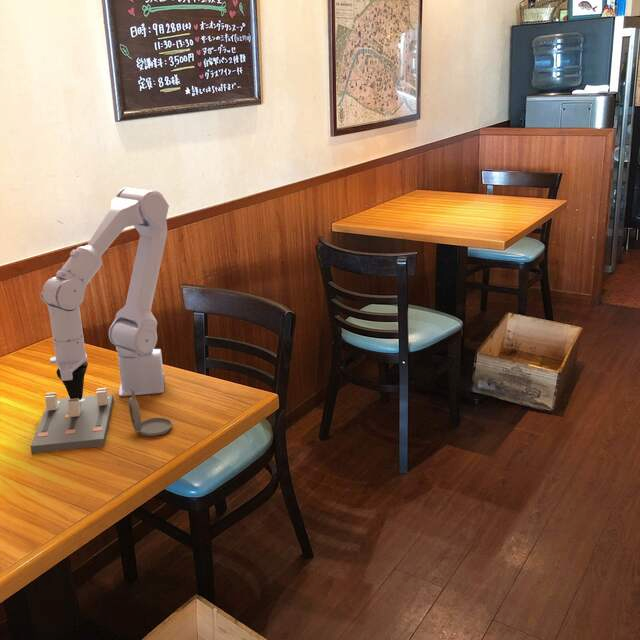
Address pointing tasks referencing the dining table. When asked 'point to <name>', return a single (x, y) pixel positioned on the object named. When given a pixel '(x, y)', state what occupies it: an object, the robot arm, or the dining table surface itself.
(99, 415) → the panel
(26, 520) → the dining table surface
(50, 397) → the handle
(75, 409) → the handle
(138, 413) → the pocket watch
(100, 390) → the handle
